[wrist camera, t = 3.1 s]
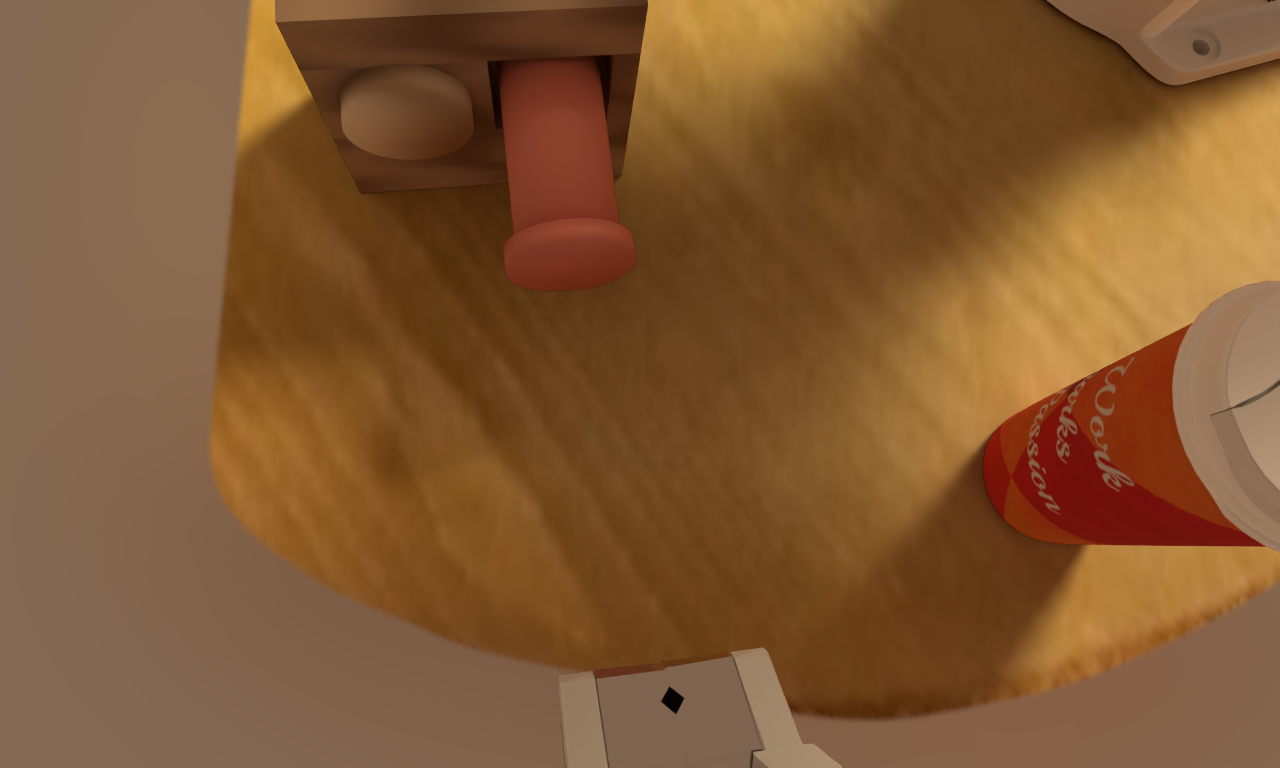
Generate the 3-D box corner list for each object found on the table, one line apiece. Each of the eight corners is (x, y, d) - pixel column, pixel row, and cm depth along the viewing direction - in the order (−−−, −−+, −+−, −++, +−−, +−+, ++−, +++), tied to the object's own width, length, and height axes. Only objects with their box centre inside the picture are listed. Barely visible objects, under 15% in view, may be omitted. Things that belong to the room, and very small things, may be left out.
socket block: (605, 53, 38) (624, -156, 27) (624, 196, 36) (652, 33, 26) (353, 66, 37) (270, -149, 26) (362, 215, 35) (276, 52, 24)
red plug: (597, 31, 33) (603, -50, 29) (630, 285, 31) (641, 236, 27) (484, 37, 33) (473, -46, 28) (509, 295, 30) (501, 247, 26)
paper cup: (1015, 350, 36) (1287, 209, 23) (1164, 460, 36) (1533, 382, 22) (920, 493, 34) (1155, 432, 21) (1076, 612, 34) (1420, 627, 20)
